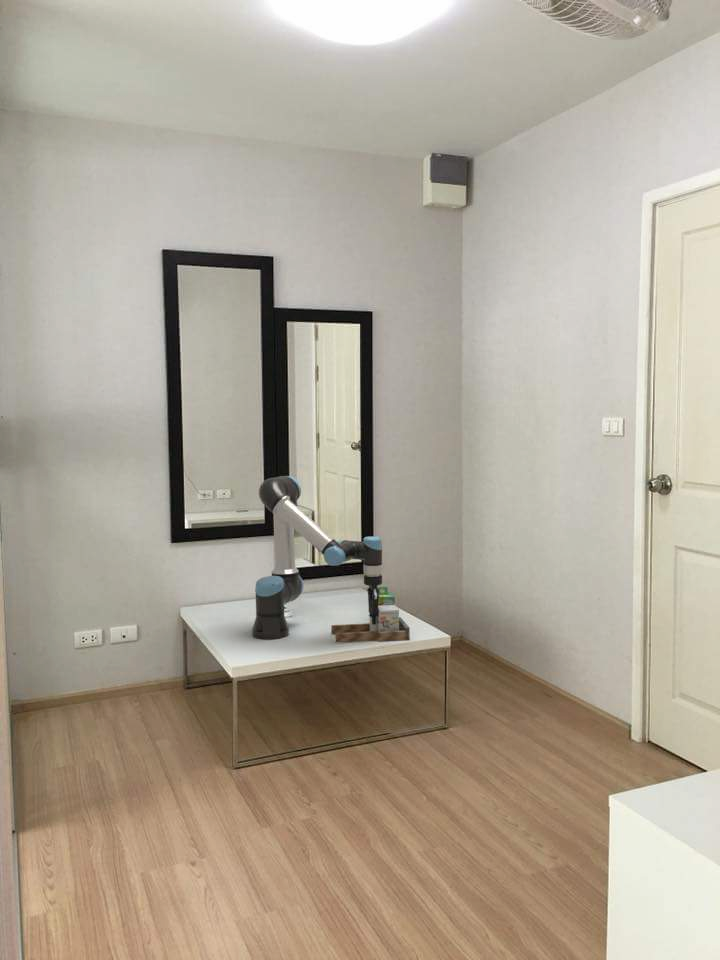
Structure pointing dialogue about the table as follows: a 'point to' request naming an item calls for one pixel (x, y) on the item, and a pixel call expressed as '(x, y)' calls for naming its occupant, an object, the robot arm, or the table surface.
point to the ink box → (387, 618)
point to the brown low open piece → (368, 633)
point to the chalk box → (385, 597)
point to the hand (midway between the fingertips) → (373, 631)
